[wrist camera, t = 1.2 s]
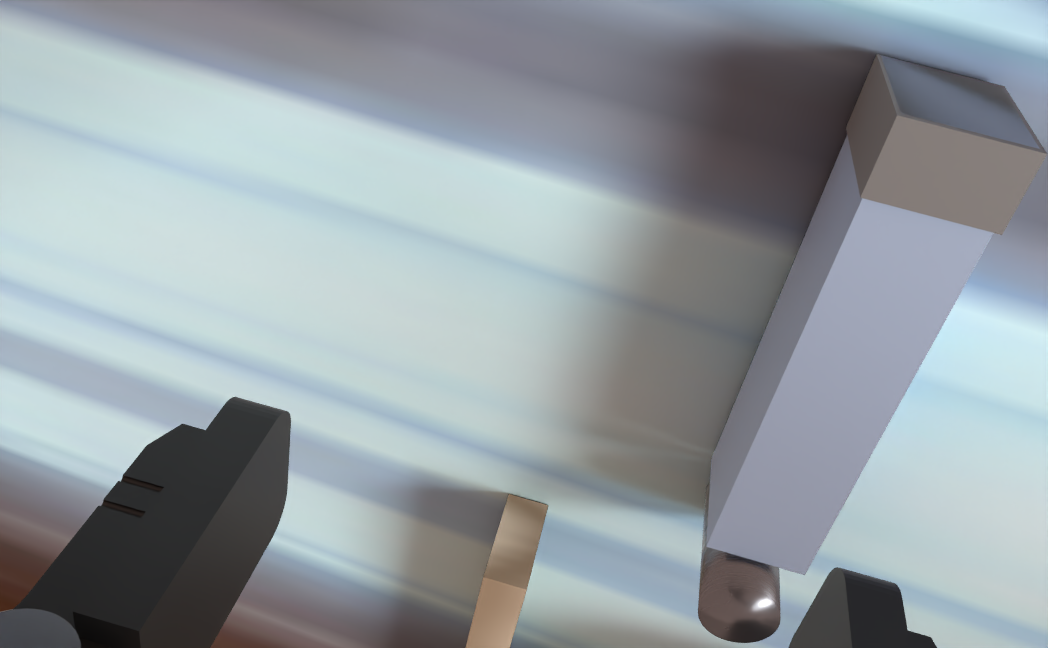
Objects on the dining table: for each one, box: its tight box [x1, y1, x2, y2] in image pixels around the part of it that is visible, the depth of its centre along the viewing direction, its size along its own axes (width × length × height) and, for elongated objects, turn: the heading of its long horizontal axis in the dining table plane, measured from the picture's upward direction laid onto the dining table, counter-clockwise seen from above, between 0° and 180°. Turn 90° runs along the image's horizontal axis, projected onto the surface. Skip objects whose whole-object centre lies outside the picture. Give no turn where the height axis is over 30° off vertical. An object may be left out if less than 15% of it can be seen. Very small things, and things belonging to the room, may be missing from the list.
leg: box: [706, 54, 1047, 575], centre depth 26 cm, size 14×3×4 cm, turn 169°
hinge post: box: [698, 482, 780, 643], centre depth 30 cm, size 2×2×5 cm
